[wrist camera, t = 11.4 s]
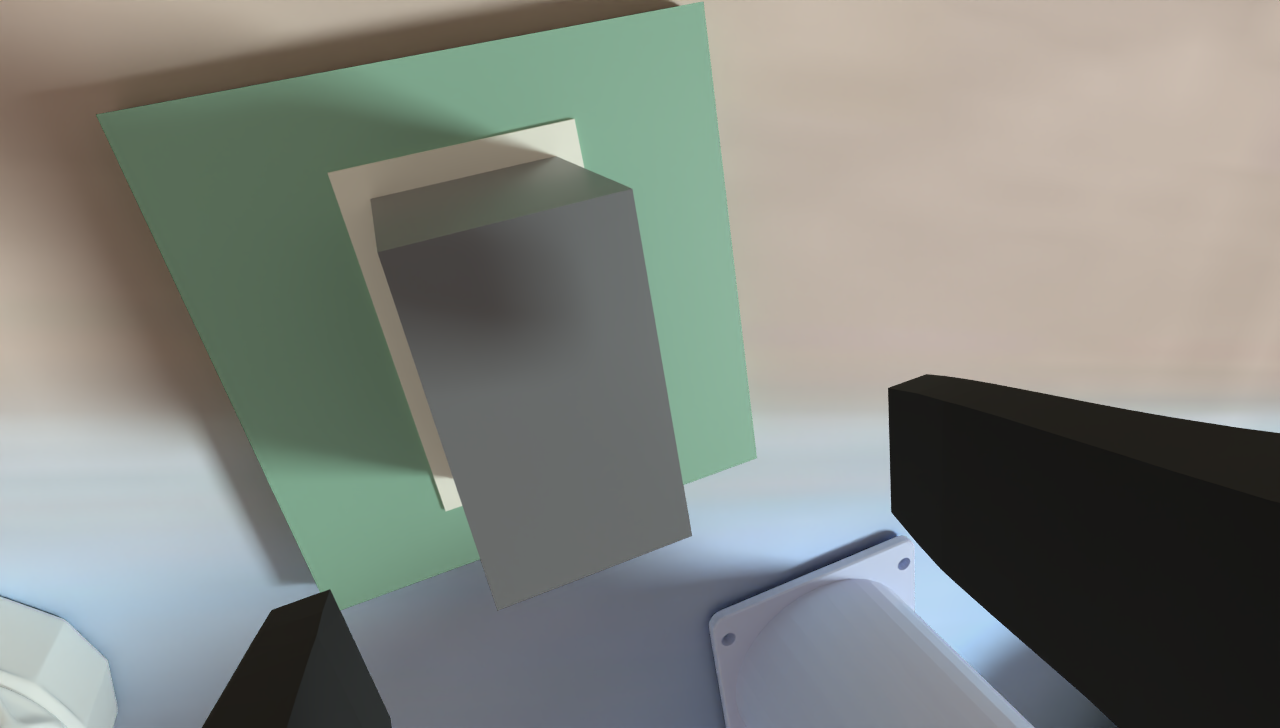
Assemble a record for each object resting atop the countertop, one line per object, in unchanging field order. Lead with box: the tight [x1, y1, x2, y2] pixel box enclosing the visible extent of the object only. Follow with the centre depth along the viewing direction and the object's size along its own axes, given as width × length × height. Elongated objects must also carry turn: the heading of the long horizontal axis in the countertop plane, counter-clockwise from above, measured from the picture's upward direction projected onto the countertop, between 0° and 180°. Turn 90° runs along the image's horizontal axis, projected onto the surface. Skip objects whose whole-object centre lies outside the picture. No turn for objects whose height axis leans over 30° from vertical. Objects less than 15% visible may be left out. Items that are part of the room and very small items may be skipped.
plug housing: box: [370, 156, 692, 611], centre depth 15 cm, size 7×4×5 cm, turn 10°
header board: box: [96, 2, 757, 610], centre depth 16 cm, size 12×12×4 cm
